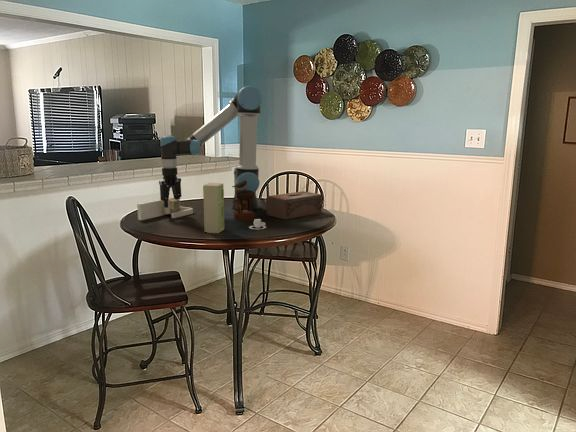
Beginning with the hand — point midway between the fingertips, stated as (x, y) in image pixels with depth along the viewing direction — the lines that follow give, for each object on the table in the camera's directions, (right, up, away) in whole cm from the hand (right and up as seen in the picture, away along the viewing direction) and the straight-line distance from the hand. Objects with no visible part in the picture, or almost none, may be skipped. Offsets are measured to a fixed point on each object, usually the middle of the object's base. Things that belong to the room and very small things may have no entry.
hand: (172, 212), depth 241 cm
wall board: (-2, -2, -2) cm, 3 cm away
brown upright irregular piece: (+38, -3, -7) cm, 39 cm away
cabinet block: (0, 0, 0) cm, 0 cm away
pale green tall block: (+27, -9, -32) cm, 43 cm away
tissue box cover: (+63, -1, +6) cm, 63 cm away
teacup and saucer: (+49, -8, -25) cm, 55 cm away
